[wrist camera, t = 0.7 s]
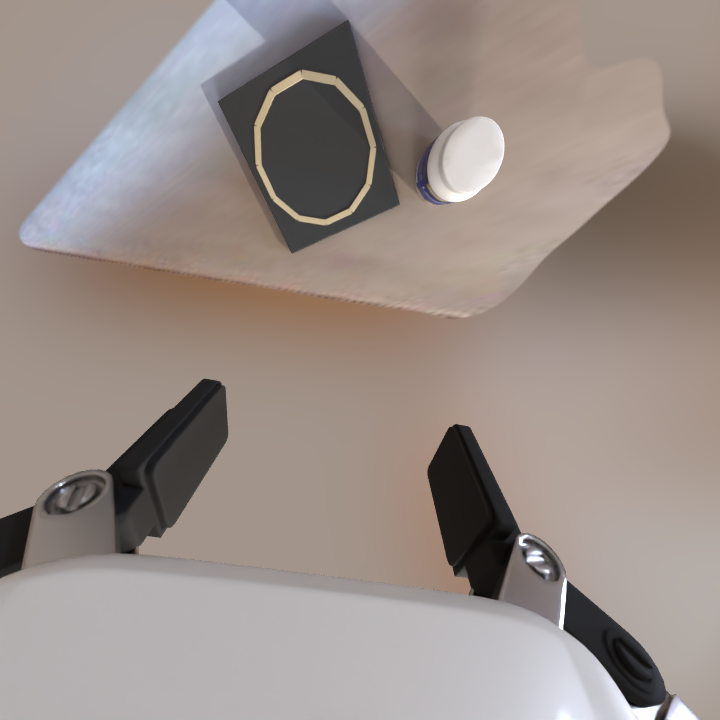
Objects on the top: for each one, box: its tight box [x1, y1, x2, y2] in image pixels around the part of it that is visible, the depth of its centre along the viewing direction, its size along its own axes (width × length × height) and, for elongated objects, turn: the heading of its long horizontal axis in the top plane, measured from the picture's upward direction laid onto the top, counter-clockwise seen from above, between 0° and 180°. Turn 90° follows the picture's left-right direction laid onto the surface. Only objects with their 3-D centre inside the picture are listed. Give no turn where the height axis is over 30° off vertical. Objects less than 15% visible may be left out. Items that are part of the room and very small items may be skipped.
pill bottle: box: [415, 116, 504, 205], centre depth 24 cm, size 6×6×10 cm
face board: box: [218, 20, 400, 253], centre depth 27 cm, size 14×15×1 cm
